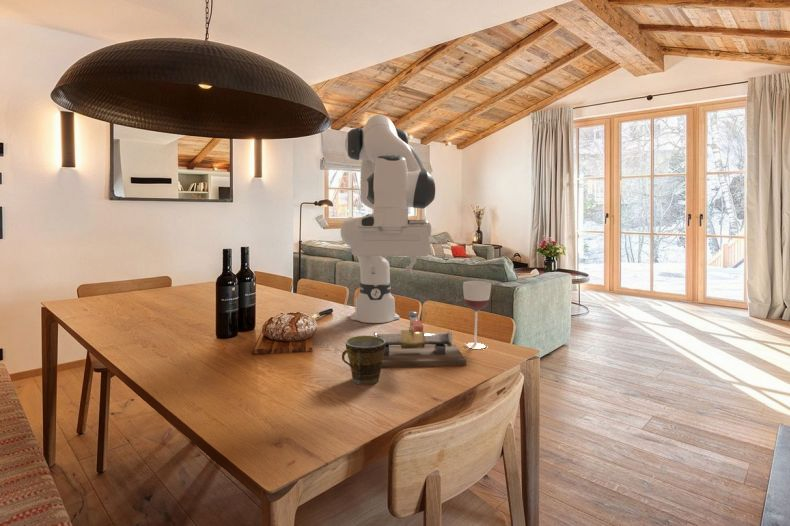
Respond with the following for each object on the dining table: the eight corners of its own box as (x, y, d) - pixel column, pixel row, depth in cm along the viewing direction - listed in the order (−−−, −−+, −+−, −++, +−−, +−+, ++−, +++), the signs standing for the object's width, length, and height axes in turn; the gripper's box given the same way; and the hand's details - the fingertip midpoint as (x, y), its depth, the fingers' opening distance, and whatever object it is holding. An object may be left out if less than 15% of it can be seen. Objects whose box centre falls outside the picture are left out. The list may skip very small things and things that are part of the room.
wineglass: (456, 343, 144) (458, 281, 142) (480, 341, 147) (482, 280, 145) (469, 351, 137) (471, 285, 135) (494, 348, 140) (496, 284, 138)
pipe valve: (373, 350, 132) (373, 325, 131) (448, 349, 134) (448, 324, 133) (374, 356, 127) (374, 330, 126) (452, 355, 129) (452, 329, 128)
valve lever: (407, 324, 131) (407, 311, 130) (416, 324, 131) (416, 311, 130) (413, 339, 117) (413, 324, 116) (423, 339, 117) (423, 323, 116)
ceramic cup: (364, 370, 121) (364, 333, 120) (393, 379, 115) (394, 340, 113) (328, 384, 111) (327, 344, 110) (357, 395, 105) (357, 353, 103)
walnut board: (363, 351, 136) (363, 346, 136) (455, 349, 139) (455, 344, 138) (363, 367, 123) (363, 362, 122) (465, 365, 125) (466, 360, 125)
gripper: (429, 219, 120) (428, 271, 121) (351, 219, 118) (351, 272, 119) (433, 219, 113) (432, 275, 115) (350, 219, 112) (351, 275, 113)
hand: (390, 273), depth 117 cm, fingers open, 8 cm apart
